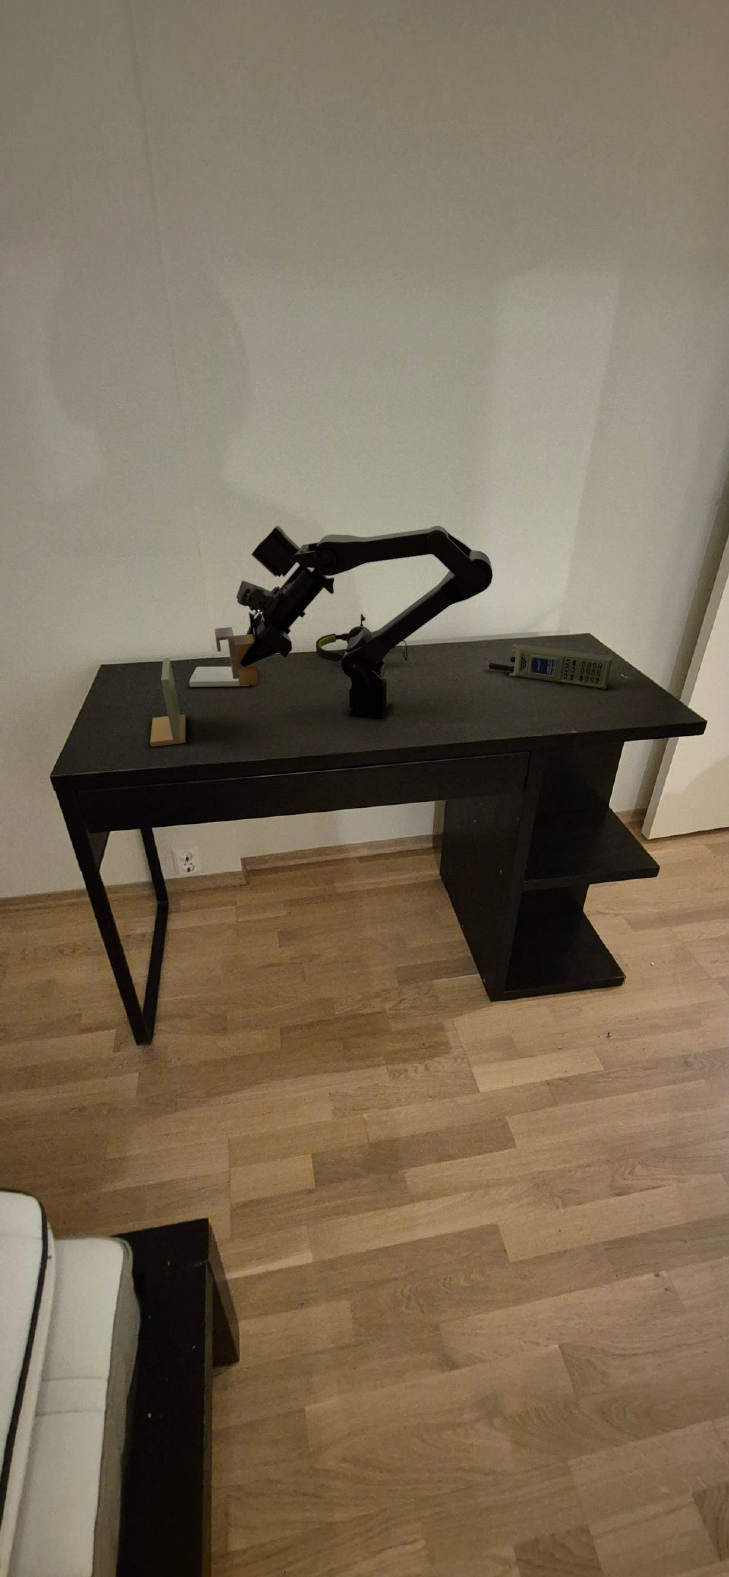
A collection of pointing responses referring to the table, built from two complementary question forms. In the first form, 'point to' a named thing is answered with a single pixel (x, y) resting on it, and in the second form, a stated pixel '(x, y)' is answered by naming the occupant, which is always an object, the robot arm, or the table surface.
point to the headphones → (345, 637)
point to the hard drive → (213, 677)
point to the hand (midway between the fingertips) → (240, 659)
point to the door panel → (173, 724)
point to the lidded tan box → (238, 655)
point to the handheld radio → (559, 666)
